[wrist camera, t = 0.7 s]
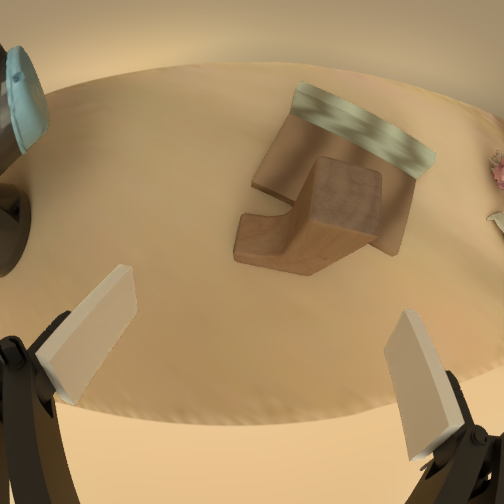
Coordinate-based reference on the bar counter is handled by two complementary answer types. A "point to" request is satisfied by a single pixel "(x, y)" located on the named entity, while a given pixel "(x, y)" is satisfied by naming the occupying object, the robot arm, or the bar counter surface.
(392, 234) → the walnut edge board
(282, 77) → the bar counter surface
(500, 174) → the flower
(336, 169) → the wooden block
